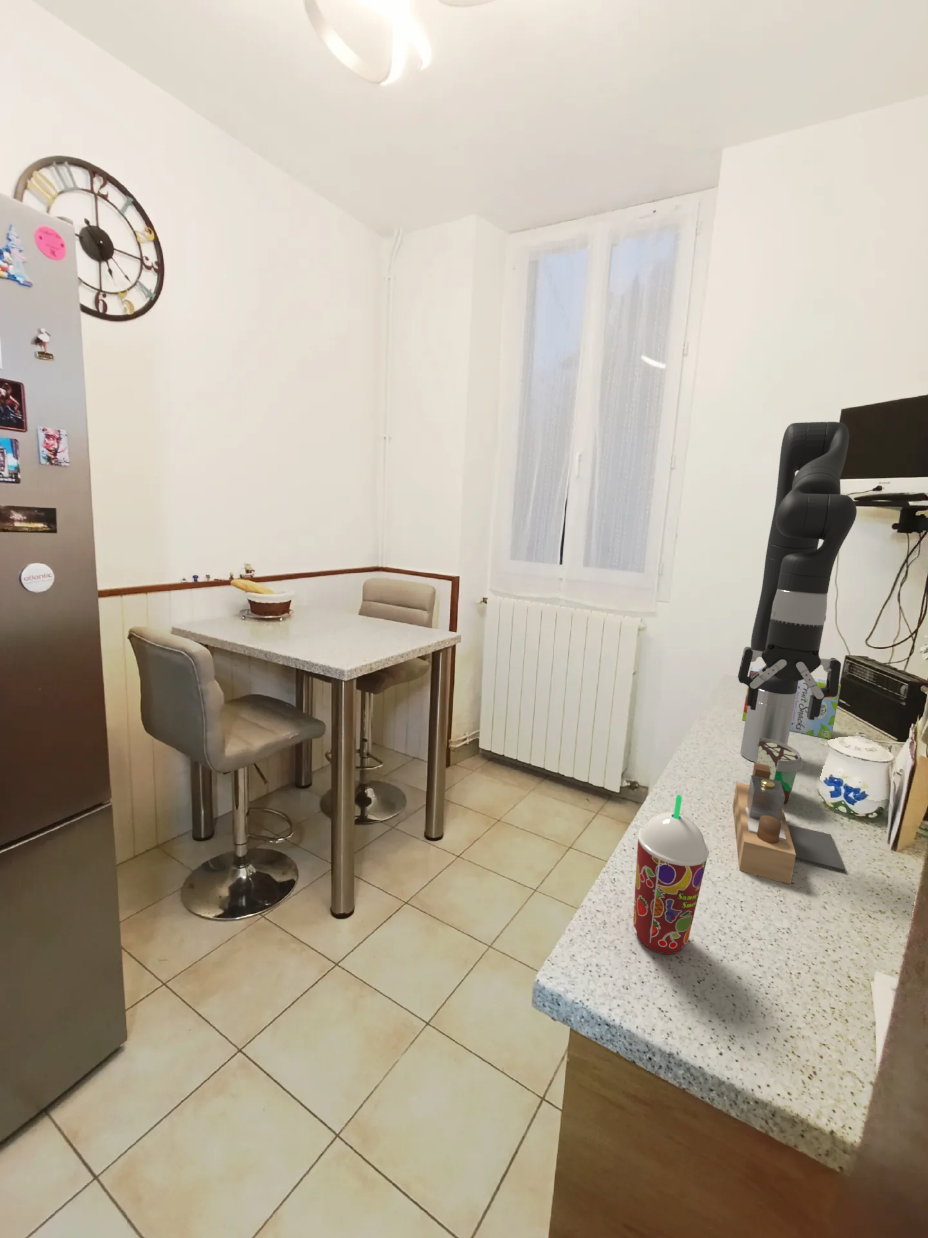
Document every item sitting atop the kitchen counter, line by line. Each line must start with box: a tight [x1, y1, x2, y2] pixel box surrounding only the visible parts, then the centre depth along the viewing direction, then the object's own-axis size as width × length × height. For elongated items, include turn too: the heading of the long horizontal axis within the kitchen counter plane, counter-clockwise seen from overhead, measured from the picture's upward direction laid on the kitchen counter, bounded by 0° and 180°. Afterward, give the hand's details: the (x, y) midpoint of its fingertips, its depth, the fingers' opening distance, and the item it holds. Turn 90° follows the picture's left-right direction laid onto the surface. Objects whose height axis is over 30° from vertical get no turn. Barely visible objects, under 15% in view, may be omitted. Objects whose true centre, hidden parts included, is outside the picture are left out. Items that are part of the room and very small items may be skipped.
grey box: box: [747, 774, 785, 822], centre depth 92 cm, size 6×4×6 cm
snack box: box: [741, 666, 842, 740], centre depth 149 cm, size 21×6×15 cm, turn 58°
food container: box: [755, 738, 803, 806], centre depth 109 cm, size 12×6×10 cm, turn 168°
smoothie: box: [632, 794, 710, 955], centre depth 69 cm, size 8×8×20 cm
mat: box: [787, 823, 846, 874], centre depth 92 cm, size 11×7×1 cm, turn 156°
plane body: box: [732, 762, 796, 885], centre depth 93 cm, size 22×7×10 cm, turn 156°
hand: (780, 713), depth 91 cm, fingers open, 8 cm apart
